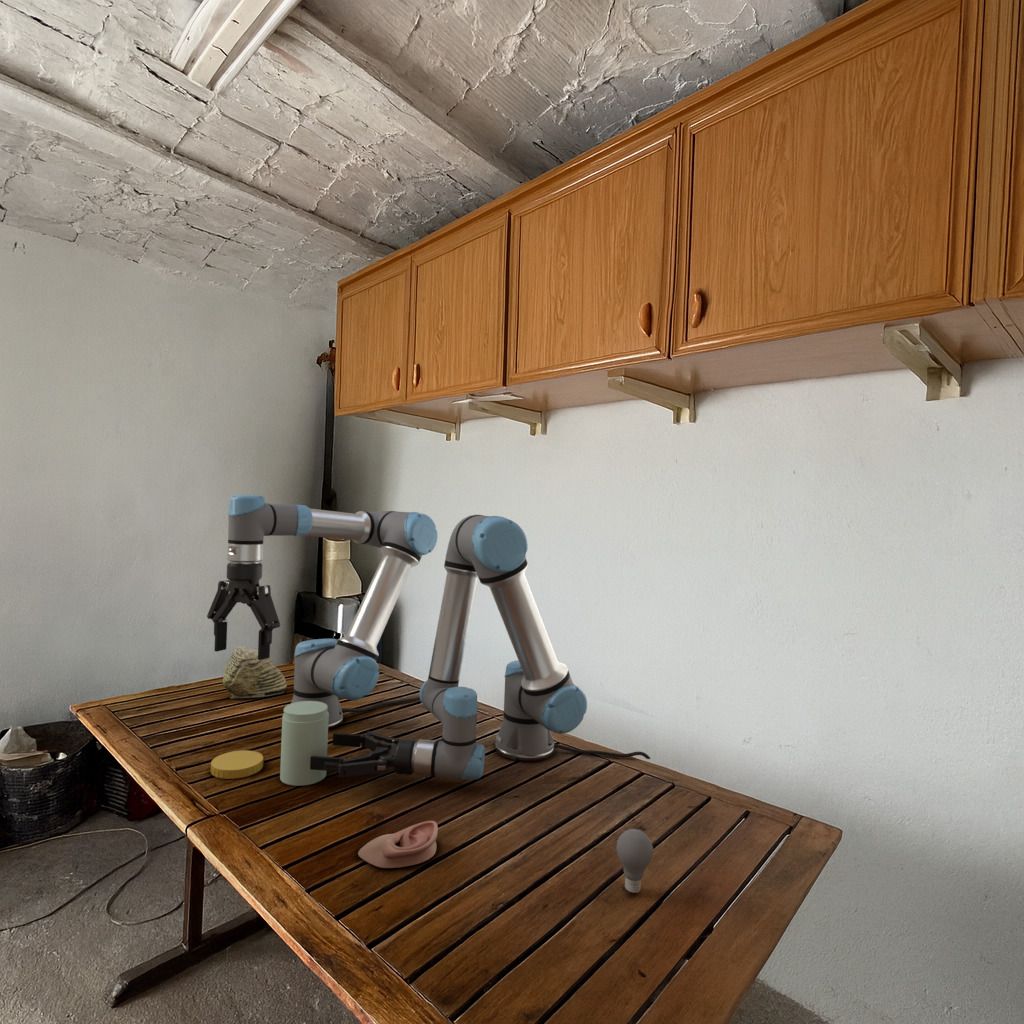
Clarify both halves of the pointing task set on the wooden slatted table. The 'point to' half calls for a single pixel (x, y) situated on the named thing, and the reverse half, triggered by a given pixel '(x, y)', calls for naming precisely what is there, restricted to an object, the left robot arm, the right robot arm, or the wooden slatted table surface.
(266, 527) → the left robot arm
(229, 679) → the fossil
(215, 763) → the lid
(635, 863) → the light bulb
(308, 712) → the jar
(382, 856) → the anatomical model
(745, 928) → the wooden slatted table surface
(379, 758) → the right robot arm
